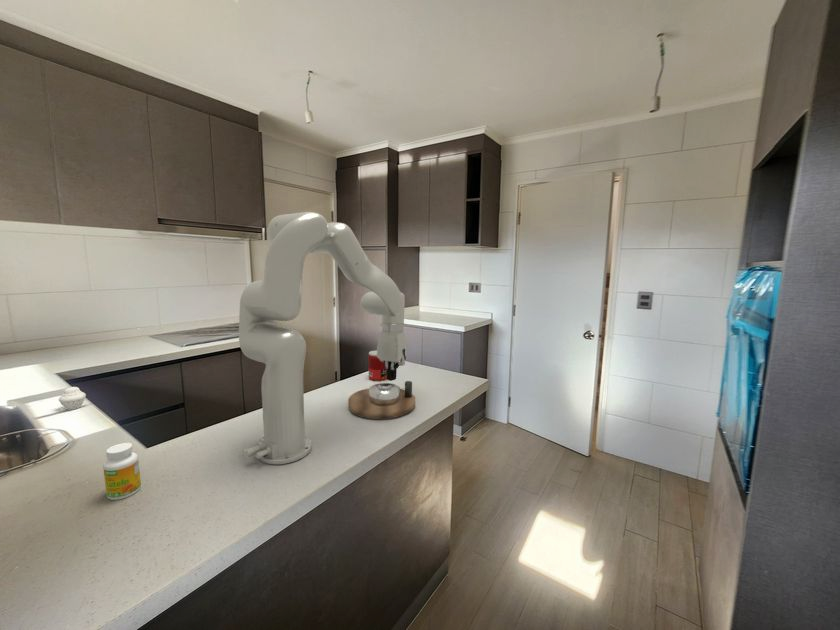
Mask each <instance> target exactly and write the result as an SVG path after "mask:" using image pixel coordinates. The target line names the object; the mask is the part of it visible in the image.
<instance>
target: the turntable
mask: <svg viewBox="0 0 840 630" xmlns="http://www.w3.org/2000/svg"><path fill="white" fill-rule="evenodd" d="M369 388H370V387H369ZM369 388H364V389H362V390H358V391H356V392H354V393H353V394H351V395H350V396H349V397H348V399H347V404H348V405H347V406H348V410H349V411H350V412H351V413H353V414H354V415H356V416H358V417H362V418H366V419H375V420H376V419H377V420H379V419H381V420H384V419H393V418H397V417H401V416H404V415H407V414H408V413H410V412H411V411H413V409H414V408H415V406H416V397H415V395H414V394H413V381H411V380H406V381H405V382H404V389H403V388H400V401H399V402H398V403H397V404H394V405H390V406H377V405H374V404H371V403H370V401H369Z"/></svg>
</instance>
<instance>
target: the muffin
mask: <svg viewBox="0 0 840 630" xmlns="http://www.w3.org/2000/svg"><path fill="white" fill-rule="evenodd" d="M86 397H87V394H86V393H85V392H83V391H81V390H80V388H79V387H77V386H70V387H67V388H65V389H64V391H63V393H62V395H60V396H59V398H58V402H59V403H60V405H62V407H64V409H66V410H68V411H69V410H70V411H71V410H77V409H79V408H81V407H82V405H83V403H84V401H85V400H86Z"/></svg>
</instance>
